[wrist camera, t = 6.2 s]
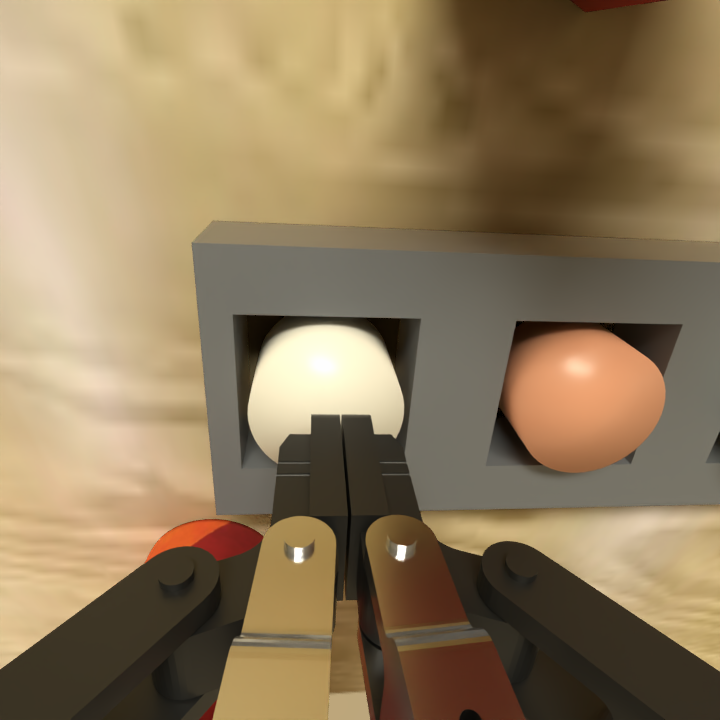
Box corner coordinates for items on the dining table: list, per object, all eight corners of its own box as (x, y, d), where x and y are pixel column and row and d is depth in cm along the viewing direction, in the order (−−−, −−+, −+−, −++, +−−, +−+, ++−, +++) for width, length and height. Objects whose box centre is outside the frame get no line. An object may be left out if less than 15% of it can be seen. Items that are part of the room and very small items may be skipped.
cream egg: (394, 306, 16) (411, 344, 13) (383, 421, 18) (396, 475, 15) (255, 303, 15) (243, 342, 13) (259, 422, 17) (250, 477, 14)
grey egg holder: (873, 249, 17) (975, 272, 15) (767, 454, 21) (833, 501, 19) (213, 220, 15) (191, 242, 12) (229, 459, 19) (216, 515, 16)
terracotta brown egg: (625, 312, 17) (686, 348, 14) (591, 421, 19) (639, 472, 16) (501, 308, 16) (539, 346, 13) (479, 421, 18) (509, 473, 15)
